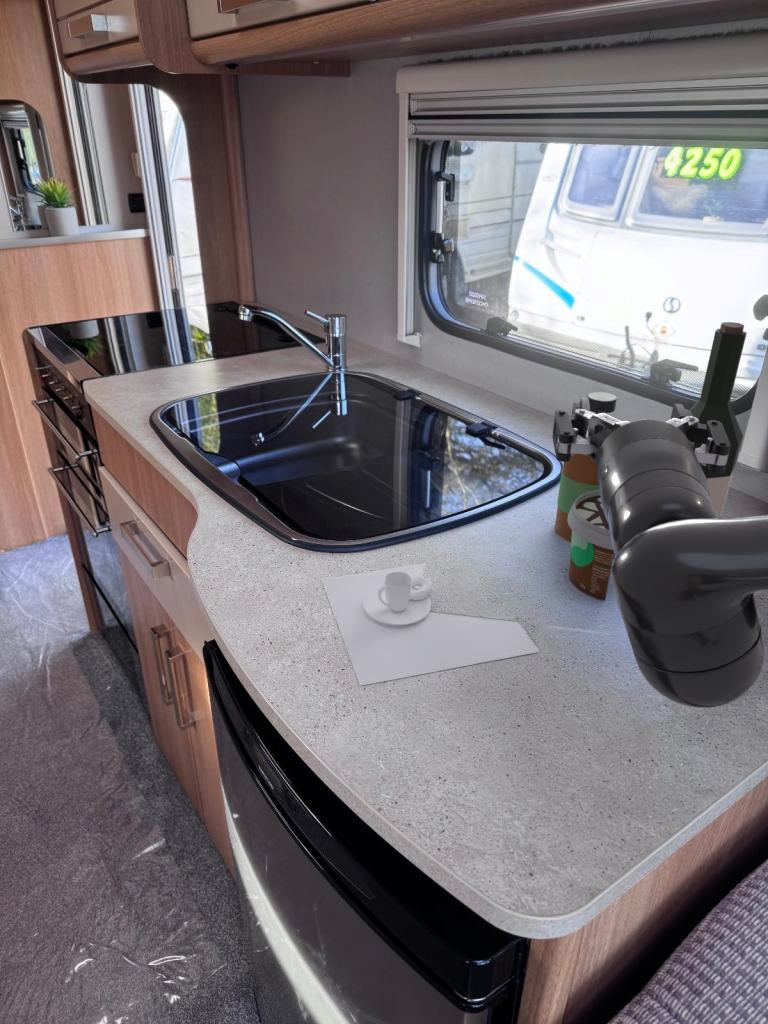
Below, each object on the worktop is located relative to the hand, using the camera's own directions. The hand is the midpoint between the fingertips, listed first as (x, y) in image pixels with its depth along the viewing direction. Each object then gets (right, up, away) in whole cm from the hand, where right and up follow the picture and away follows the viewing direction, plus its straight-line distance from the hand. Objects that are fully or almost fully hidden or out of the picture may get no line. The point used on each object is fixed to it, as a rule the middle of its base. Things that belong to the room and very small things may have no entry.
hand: (629, 410), depth 69 cm
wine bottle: (+16, -15, +28) cm, 35 cm away
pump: (+4, +1, +21) cm, 21 cm away
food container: (+2, -18, +22) cm, 28 cm away
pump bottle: (+4, -12, +32) cm, 34 cm away
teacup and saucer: (-19, -22, +15) cm, 32 cm away
